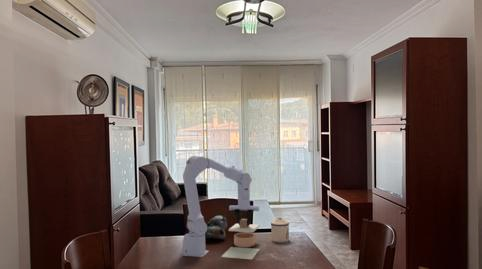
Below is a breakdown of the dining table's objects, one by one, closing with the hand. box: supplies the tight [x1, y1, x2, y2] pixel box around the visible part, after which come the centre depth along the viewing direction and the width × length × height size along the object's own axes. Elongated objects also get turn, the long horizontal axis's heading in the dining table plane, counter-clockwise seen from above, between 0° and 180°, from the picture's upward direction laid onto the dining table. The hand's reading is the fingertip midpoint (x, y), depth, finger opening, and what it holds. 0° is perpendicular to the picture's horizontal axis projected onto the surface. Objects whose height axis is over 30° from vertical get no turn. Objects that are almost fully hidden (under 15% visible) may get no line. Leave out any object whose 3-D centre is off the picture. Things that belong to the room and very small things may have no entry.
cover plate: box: [228, 218, 260, 233], centre depth 175 cm, size 12×12×4 cm
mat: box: [220, 246, 261, 260], centre depth 162 cm, size 14×14×1 cm
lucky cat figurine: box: [205, 214, 228, 241], centre depth 186 cm, size 15×12×14 cm
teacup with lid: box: [270, 216, 290, 243], centre depth 182 cm, size 12×9×12 cm
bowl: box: [233, 232, 257, 248], centre depth 175 cm, size 10×10×4 cm
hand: (244, 225), depth 175 cm, fingers closed on cover plate, 3 cm apart
